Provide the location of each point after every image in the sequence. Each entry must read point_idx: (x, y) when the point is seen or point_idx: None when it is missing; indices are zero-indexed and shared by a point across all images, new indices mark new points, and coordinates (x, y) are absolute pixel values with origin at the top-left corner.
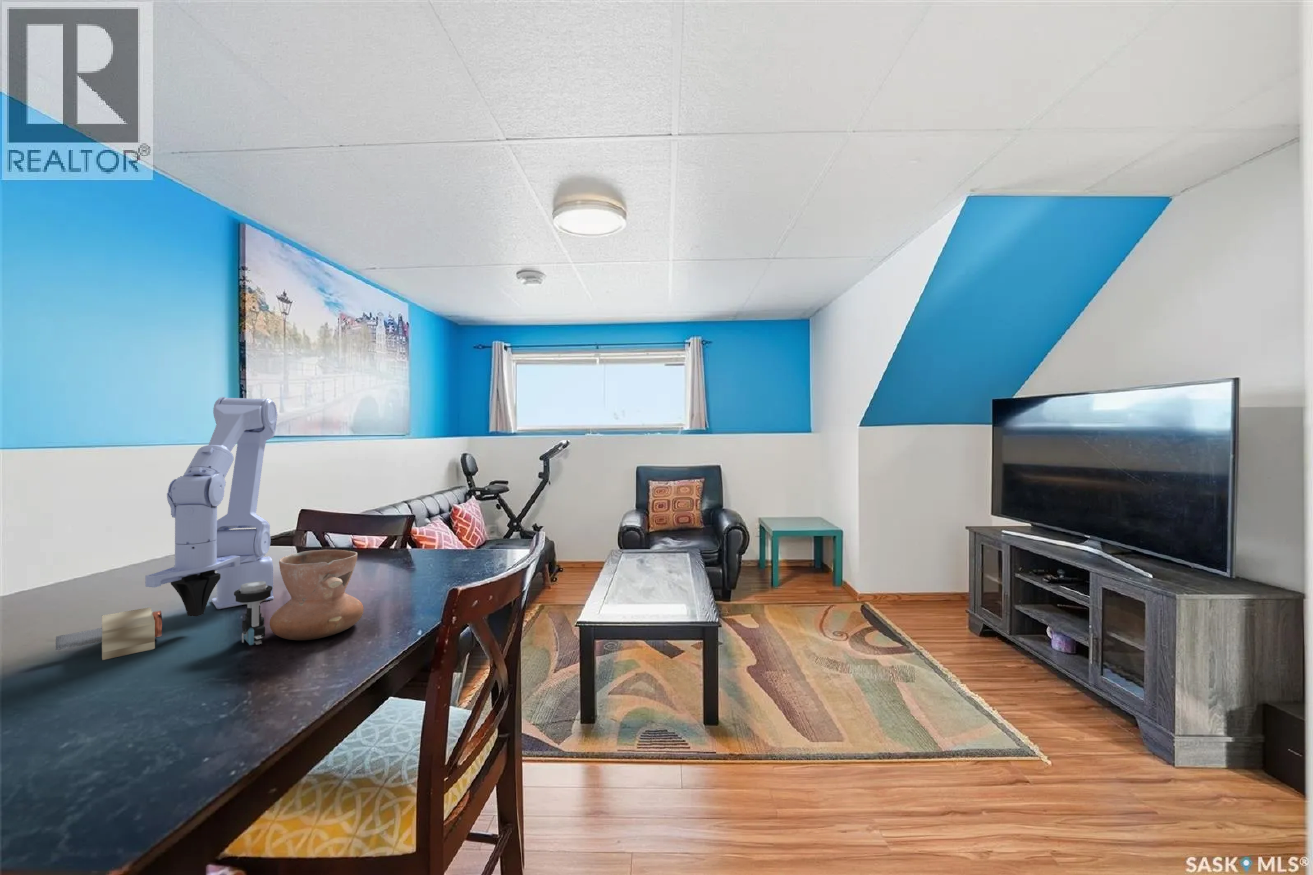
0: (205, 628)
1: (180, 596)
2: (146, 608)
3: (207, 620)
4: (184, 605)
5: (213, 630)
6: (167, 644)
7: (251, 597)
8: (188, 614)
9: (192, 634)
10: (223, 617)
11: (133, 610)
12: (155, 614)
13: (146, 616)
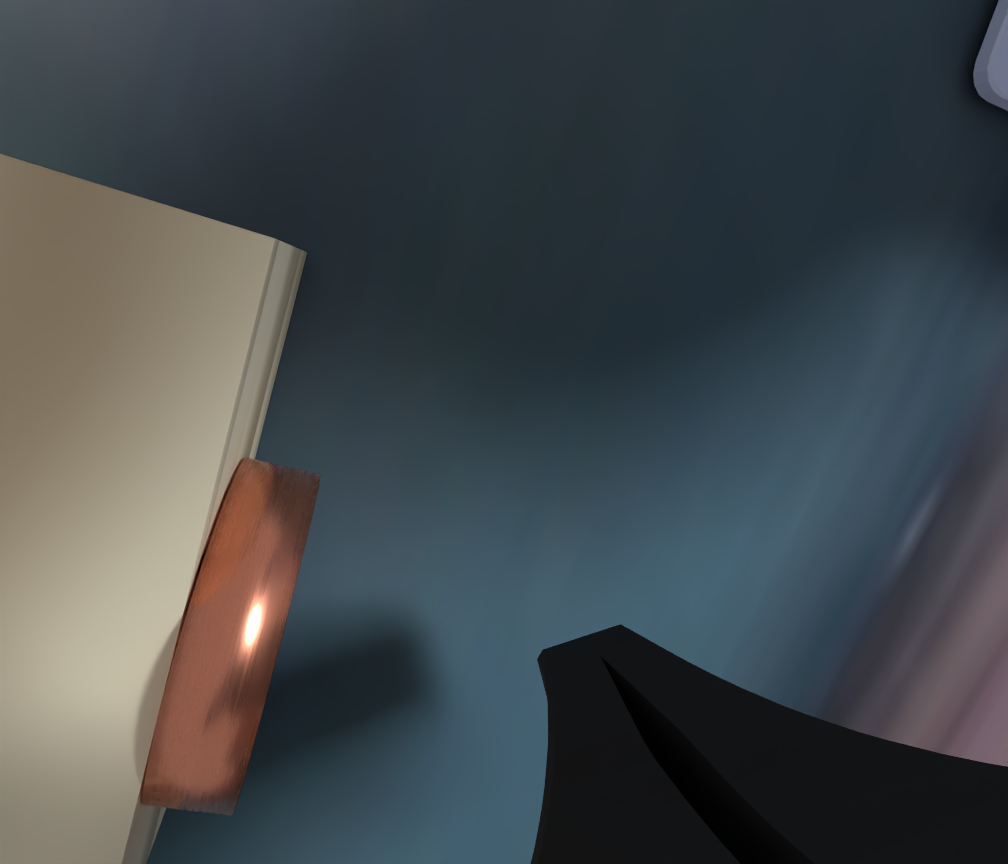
0: (622, 591)
1: (540, 833)
2: (206, 262)
3: (746, 356)
4: (549, 715)
5: None
6: (273, 767)
7: None
8: (544, 679)
9: (494, 667)
10: (851, 396)
11: (22, 189)
12: (168, 787)
13: (65, 752)
